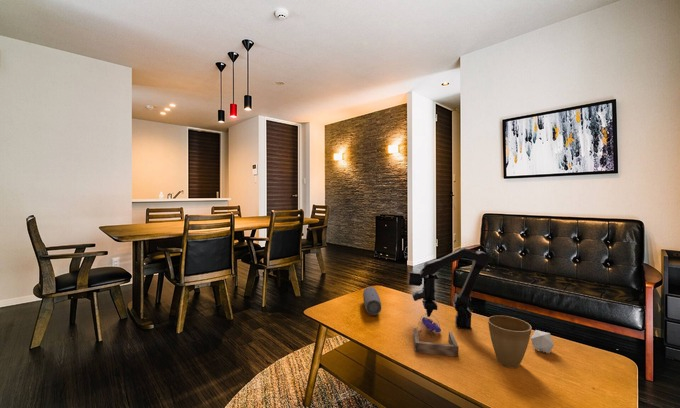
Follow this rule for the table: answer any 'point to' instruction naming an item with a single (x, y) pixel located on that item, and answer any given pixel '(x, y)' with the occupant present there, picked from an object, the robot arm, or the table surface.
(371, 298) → the bluetooth speaker
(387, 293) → the table surface
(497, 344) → the plant pot
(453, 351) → the docking bay
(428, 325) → the game controller
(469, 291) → the robot arm
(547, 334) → the die
